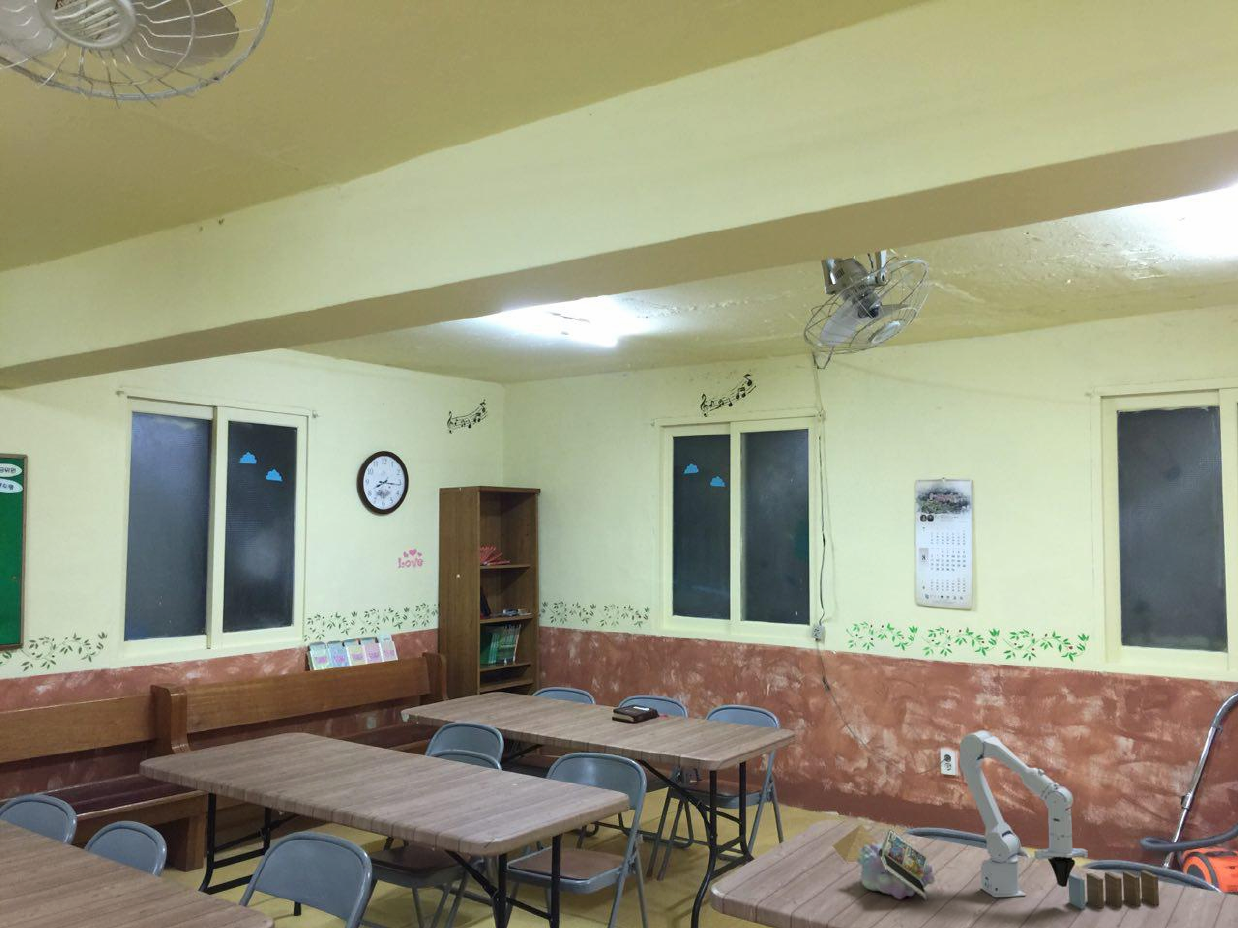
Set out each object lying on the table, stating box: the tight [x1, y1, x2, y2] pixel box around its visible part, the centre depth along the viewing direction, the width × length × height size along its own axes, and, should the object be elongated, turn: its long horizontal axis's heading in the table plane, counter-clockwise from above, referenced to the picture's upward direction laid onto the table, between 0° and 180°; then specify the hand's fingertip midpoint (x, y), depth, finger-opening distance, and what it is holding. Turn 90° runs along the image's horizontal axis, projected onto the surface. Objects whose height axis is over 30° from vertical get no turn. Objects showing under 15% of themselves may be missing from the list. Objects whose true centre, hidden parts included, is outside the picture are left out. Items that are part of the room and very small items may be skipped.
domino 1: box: [1068, 873, 1086, 910], centre depth 260 cm, size 1×5×8 cm, turn 10°
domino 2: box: [1085, 872, 1105, 909], centre depth 261 cm, size 1×5×8 cm, turn 9°
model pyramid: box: [832, 824, 879, 862], centre depth 302 cm, size 17×17×10 cm
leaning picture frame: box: [857, 827, 936, 900], centre depth 271 cm, size 20×22×18 cm
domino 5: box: [1140, 869, 1160, 906], centre depth 264 cm, size 1×5×8 cm, turn 9°
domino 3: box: [1104, 871, 1123, 908], centre depth 262 cm, size 1×5×8 cm, turn 9°
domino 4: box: [1122, 870, 1142, 907], centre depth 263 cm, size 1×5×8 cm, turn 9°
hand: (1062, 885), depth 260 cm, fingers closed
